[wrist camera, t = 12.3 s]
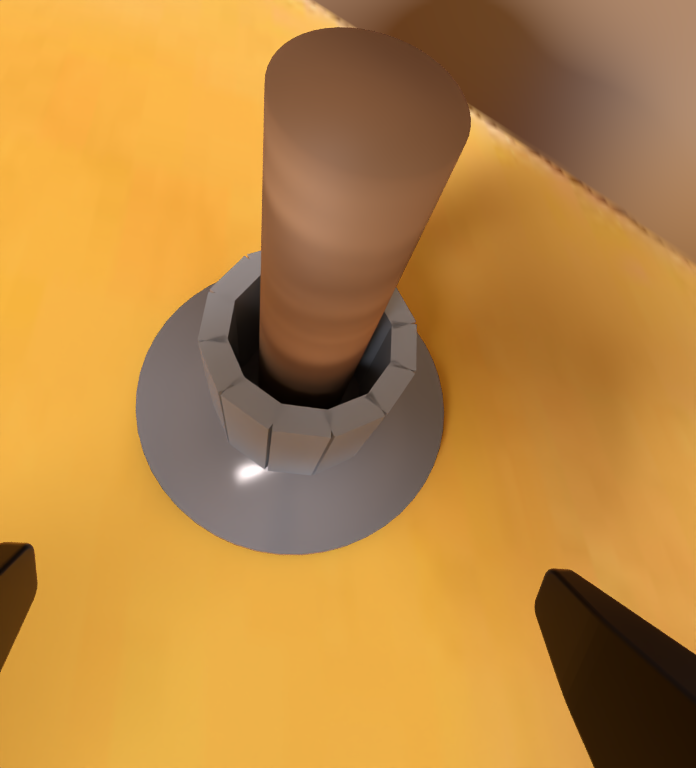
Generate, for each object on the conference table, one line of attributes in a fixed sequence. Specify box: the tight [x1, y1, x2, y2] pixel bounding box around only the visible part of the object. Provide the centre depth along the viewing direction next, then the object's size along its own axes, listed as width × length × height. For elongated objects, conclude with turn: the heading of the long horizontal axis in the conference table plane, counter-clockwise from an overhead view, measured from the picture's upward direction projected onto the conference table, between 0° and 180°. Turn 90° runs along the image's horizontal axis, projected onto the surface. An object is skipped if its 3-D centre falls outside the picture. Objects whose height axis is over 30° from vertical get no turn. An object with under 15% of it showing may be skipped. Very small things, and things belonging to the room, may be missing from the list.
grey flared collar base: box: [136, 251, 444, 555], centre depth 16 cm, size 12×12×6 cm
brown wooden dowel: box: [258, 27, 471, 410], centre depth 13 cm, size 3×3×12 cm
